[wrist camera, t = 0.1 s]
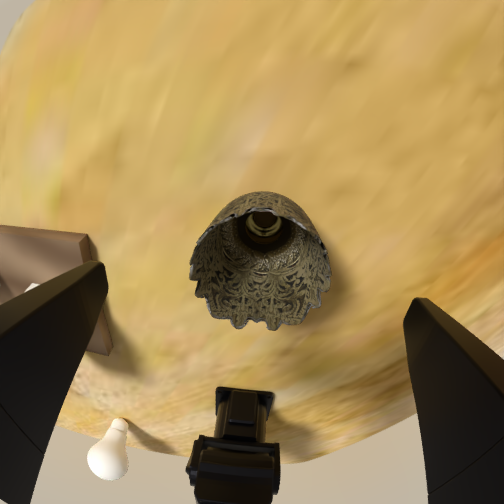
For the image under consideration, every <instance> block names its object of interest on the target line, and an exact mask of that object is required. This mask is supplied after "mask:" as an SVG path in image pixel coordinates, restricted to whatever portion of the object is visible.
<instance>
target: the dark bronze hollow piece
mask: <svg viewBox="0 0 504 504" xmlns="http://www.w3.org/2000/svg"><path fill="white" fill-rule="evenodd" d="M256 211H259V212H263V211H269V212H272V213H273V215H276V221H275V223H274V224H273V225H272V226H270V227H267V228H263V227H260V226H258V225H257V224H256V223H255V221H254V213H255V212H256ZM196 243H197V246H196V247H195V249H194V252H193V255H192V257H191V260H190V265H192V266H191V267H190V274H189V279H190V280H192V281H198V282H197V287H196V291H195V296H196V297H198V298H204V297H205V299H206V302H207V308H208V310H209V312H210V314H211V316H212V317H213V318H216V319H230V322H231V324H232V326H233V327H235V328H236V329H242V328H243V327H244V326H246V324H247V322H248V321H249V320H253V321H254V322H256V323H258V322H260V321H261V322H262V321H265V322H266V324H267V327H266V328H267V329H268V330H272V331H276V330H277V329H278V328H279V327H280V325H281V324H282V323H284V324H286V325H296V324H300V323H301V322H302V321H303V320H304V318H305V317H306V315H307V313H308V311H309V309H310V307H311V305H312V306H314V307H312V308H320V306H321V296H320V291H322V292H327V291H328V290H329V288H330V282H331V280H330V278H329V276H330V277H331V275H332V274H331V268H330V264H329V258H328V256H327V254H328V252H327V250H326V248H325V246H324V244H323V243H322V241H321V239H320V237H319V235H318V233H317V231H316V229H315V227H314V225H313V224H312V222H311V220H310V219H309V217H308V216H307V214H306V213H305V212H304V211H303V210H302V208H301V207H300V206H298V205H297V204H296V203H295V202H293V201H292V200H290V199H289V198H287V197H285V196H283V195H280V194H277V193H273V192H253V193H248V194H245V195H243V196H240V197H238V198H237V199H235V200H233V201H232V202H230V203H229V204H228V205H227V206H226V207H224V208H223V209H222V210H221V211H220V213H219V214H218V215H217V216H216V217H215V219H214V220H213V221H212V222H211V224H210V225H209V226H208V228H207V229H206V231H205V232H204V233H203V234H202V236H201V237H200V238H199V239H198V241H197V242H196ZM247 320H248V321H247ZM245 322H246V323H245ZM244 324H245V325H244Z"/></svg>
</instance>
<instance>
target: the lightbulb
mask: <svg viewBox="0 0 504 504" xmlns="http://www.w3.org/2000/svg"><path fill="white" fill-rule="evenodd" d="M128 426H129V425H128V423H127V422H126V421H125V420H124V419H123V418H119V419H118V418H116V419H114V420H113V422H112V424H111V427H110V428H109V429H108V430H107V432H106V434H105V436H104V437H103V438H102V439H101V440H100V441H99V442H97V443H96V444H95V445H93V446H92V447H91V449H90V450H89V452H88V456H87V460H88V464H89V467H90V469H91V470H92V471H93V473H94V474H95V475H97V476H98V477H100V478H102V479H105V480H117V479H120V478H121V477H123V476H124V475H125V473H126V472H127V470H128V458H127V454H126V448H125V445H126V439H127V436H126V434H127V430H128Z"/></svg>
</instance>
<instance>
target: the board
mask: <svg viewBox="0 0 504 504" xmlns="http://www.w3.org/2000/svg"><path fill="white" fill-rule="evenodd" d="M88 261H92V259H91V253H90V248H89V243H88V237H87V234H81V233H72V232H63V231H53V230H44V229H34V228H25V227H15V226H6V225H0V284H1V286H0V305H1V304H3V303H5V302H7V301H8V300H10V299H12V298H14V297H16V296H18V295H20V294H22V293H24V292H25V291H26V289H27V288H28V287H29V286H30V285H31V284H32V283H35V284H39V285H40V284H42V283H44V282H46V281H48V280H50V279H52V278H54V277H57V276H59V275H61V274H63V273H65V272H67V271H69V270H71V269H73V268H75V267H78V266H80V265H82V264H84V263H86V262H88ZM112 348H113V344H112V341H111V337H110V334H109V330H108V327H107V323H106V319H105V315H104V312H103V308H102V310H101V313H100V316H99V319H98V321H97V324H96V327H95V330H94V333H93V335H92V337H91V340H90V342H89V344H88V346H87V349H86V351H90V352H94V353H98V354H102V355H106V356H109V354H110V352H111V350H112Z"/></svg>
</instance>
